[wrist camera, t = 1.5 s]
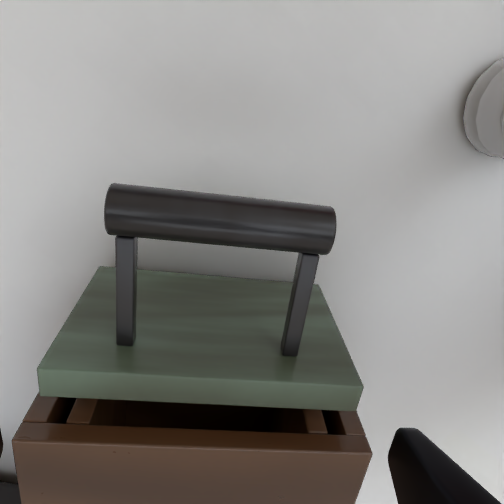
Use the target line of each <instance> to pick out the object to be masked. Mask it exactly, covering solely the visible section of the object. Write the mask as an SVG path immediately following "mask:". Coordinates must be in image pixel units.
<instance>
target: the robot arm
mask: <svg viewBox="0 0 504 504" xmlns="http://www.w3.org/2000/svg"><path fill="white" fill-rule="evenodd" d="M2 450H3V440H2V435H1V430H0V457H1V454H2ZM388 463H389V468H390V472H391V476H392V480H393V484H394V488H395V492H396V496H397V500H398V504H501V503H500V502H499V501H498V500H497V499H496V498H494V497H493V496H492V495H491V494H490V493H489V492H488V491H487V490H486V489H484V488H483V487H482V486H481V485H480V484H479V483H478V482H477V481H475V480H474V479H473V478H472V477H471V476H470V475H469V474H468V473H466V472H465V471H464V470H463V469H462V468H461V467H460V466H459V465H458V464H456V463H455V462H454V461H453V460H452V459H451V458H450V457H449V456H447V455H446V454H445V453H444V452H443V451H442V450H441V449H440V448H438V447H437V446H436V445H435V444H434V443H433V442H432V441H431V440H429V439H428V438H427V437H426V436H425V435H424V434H423V433H422V432H420V431H419V430H418V429H415V428H399V429H398V430H397V431H396V433H395V436H394V439H393V441H392V444H391V447H390V450H389V453H388Z"/></svg>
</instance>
